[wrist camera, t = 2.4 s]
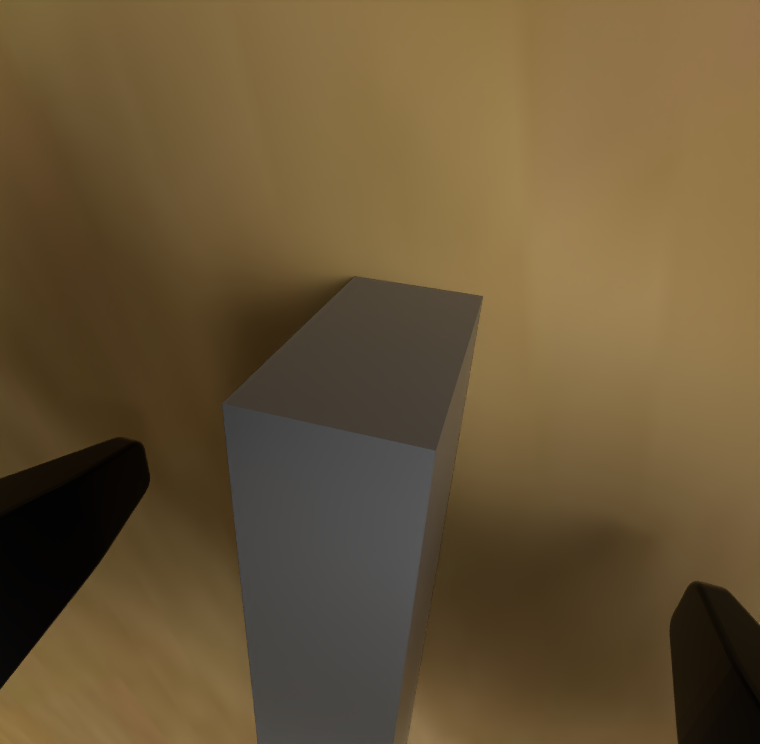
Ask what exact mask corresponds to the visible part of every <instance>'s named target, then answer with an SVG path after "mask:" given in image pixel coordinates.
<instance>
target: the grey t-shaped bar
mask: <svg viewBox="0 0 760 744" xmlns="http://www.w3.org/2000/svg"><path fill="white" fill-rule="evenodd" d="M482 300H483V296H479V295H472V294H466V293H459V292H453V291H446V290H440V289H434V288H427V287H421V286H414V285H408V284H401V283H395V282H388V281H382V280H375V279H369V278H362V277H356V276H355V277H354V278H352V279H351V280H350V281H349V282H348V283H347V284H346V285H345V286H344V287H343V288H342V289H341V290H340V291H339V292H338V293H337V294H336V295H335V296H334V297H333V298H332V299H331V300H330V301H328V302H327V303H326V304H325V305H324V306H323V307H322V308H321V309H320V310H319V311H318V312H317V313H316V314H315V315H314V316H313V317H312V318H311V319H310V320H309V321H308V322H307V323H305V324H304V325H303V326H302V327H301V328H300V329H299V330H298V331H297V332H296V333H295V334H294V335H293V336H292V337H291V338H290V339H289V340H288V341H287V342H286V343H285V344H284V345H283V346H281V347H280V348H279V349H278V350H277V351H276V352H275V353H274V354H273V355H272V356H271V357H270V358H269V359H268V360H267V361H266V362H265V363H264V364H263V365H262V366H261V367H260V368H258V369H257V370H256V371H255V372H254V373H253V374H252V375H251V376H250V377H249V378H248V379H247V380H246V381H245V382H244V383H243V384H242V385H241V386H240V387H239V388H238V389H237V390H235V391H234V392H233V393H232V394H231V395H230V396H229V397H228V398H227V399H226V400H225V401H224V402H223V403H222V408H223V418H224V427H225V437H226V446H227V456H228V466H229V475H230V485H231V494H232V504H233V513H234V523H235V532H236V542H237V551H238V561H239V570H240V580H241V589H242V599H243V608H244V618H245V627H246V637H247V646H248V656H249V665H250V675H251V684H252V694H253V703H254V713H255V722H256V732H257V741H258V744H407V740H408V734H409V728H410V722H411V717H412V711H413V705H414V699H415V693H416V687H417V681H418V675H419V670H420V664H421V658H422V652H423V646H424V640H425V634H426V628H427V623H428V617H429V611H430V605H431V599H432V593H433V587H434V581H435V576H436V570H437V564H438V558H439V552H440V546H441V540H442V534H443V529H444V523H445V517H446V511H447V505H448V499H449V493H450V488H451V482H452V476H453V470H454V464H455V458H456V452H457V446H458V441H459V435H460V429H461V423H462V417H463V411H464V405H465V399H466V394H467V388H468V382H469V376H470V370H471V364H472V358H473V352H474V347H475V341H476V335H477V329H478V323H479V317H480V311H481V305H482Z"/></svg>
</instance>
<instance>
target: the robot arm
mask: <svg viewBox="0 0 760 744" xmlns="http://www.w3.org/2000/svg"><path fill="white" fill-rule="evenodd" d="M149 482H150V473H149V468H148V463H147V458H146V453H145V448H144V446H143V444H142V443H141V442H139V441H137V440H133V439H129V438H125V437H117V438H114V439H111V440H108V441H105V442H102V443H99V444H97V445H94V446H91V447H88V448H85V449H83V450H80V451H77V452H74V453H71V454H68V455H66V456H63V457H60V458H57V459H54V460H51V461H49V462H46V463H43V464H40V465H37V466H35V467H32V468H29V469H26V470H23V471H20V472H18V473H15V474H12V475H9V476H6V477H3V478H1V479H0V689H1V688H2V687H3V685H4V684H5V683H6V682H7V680H8V679H9V678H10V676H11V675H12V674H13V673H14V671H15V670H16V669H17V668H18V666H19V665H20V664H21V663H22V661H23V660H24V659H25V657H26V656H27V655H28V654H29V652H30V651H31V650H32V649H33V647H34V646H35V645H36V643H37V642H38V641H39V640H40V638H41V637H42V636H43V635H44V633H45V632H46V631H47V629H48V628H49V627H50V626H51V624H52V623H53V622H54V621H55V619H56V618H57V617H58V616H59V614H60V613H61V612H62V610H63V609H64V608H65V607H66V605H67V604H68V603H69V602H70V600H71V599H72V598H73V596H74V595H75V594H76V593H77V591H78V590H79V589H80V588H81V586H82V585H83V584H84V583H85V581H86V580H87V579H88V577H89V576H90V575H91V573H92V572H93V571H94V569H95V568H96V567H97V565H98V564H99V563H100V561H101V560H102V558H103V557H104V555H105V554H106V553H107V551H108V550H109V548H110V546H111V545H112V543H113V542H114V540H115V539H116V537H117V536H118V534H119V533H120V531H121V529H122V528H123V526H124V525H125V523H126V522H127V520H128V519H129V517H130V515H131V514H132V512H133V511H134V509H135V508H136V506H137V505H138V503H139V502H140V500H141V498H142V497H143V495H144V494H145V492H146V490H147V488H148V486H149ZM670 647H671V660H672V673H673V687H674V700H675V714H676V727H677V737H678V744H760V625H759V624H758V623H757V622H756V620H755V619H754V618H753V617H752V616H751V615H750V614H749V613H748V612H747V610H746V609H745V608H744V607H743V606H742V605H741V604H740V603H739V602H738V601H737V599H736V598H735V597H734V596H733V595H732V594H731V593H730V592H729V591H728V590H726V589H725V588H722V587H719V586H715V585H711V584H707V583H704V582H700V581H694V582H692V583H691V584H690V585H689V586H688V587H687V589H686V591H685V593H684V595H683V597H682V598H681V600H680V602H679V604H678V606H677V608H676V609H675V611H674V613H673V615H672V618H671V621H670Z"/></svg>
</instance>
